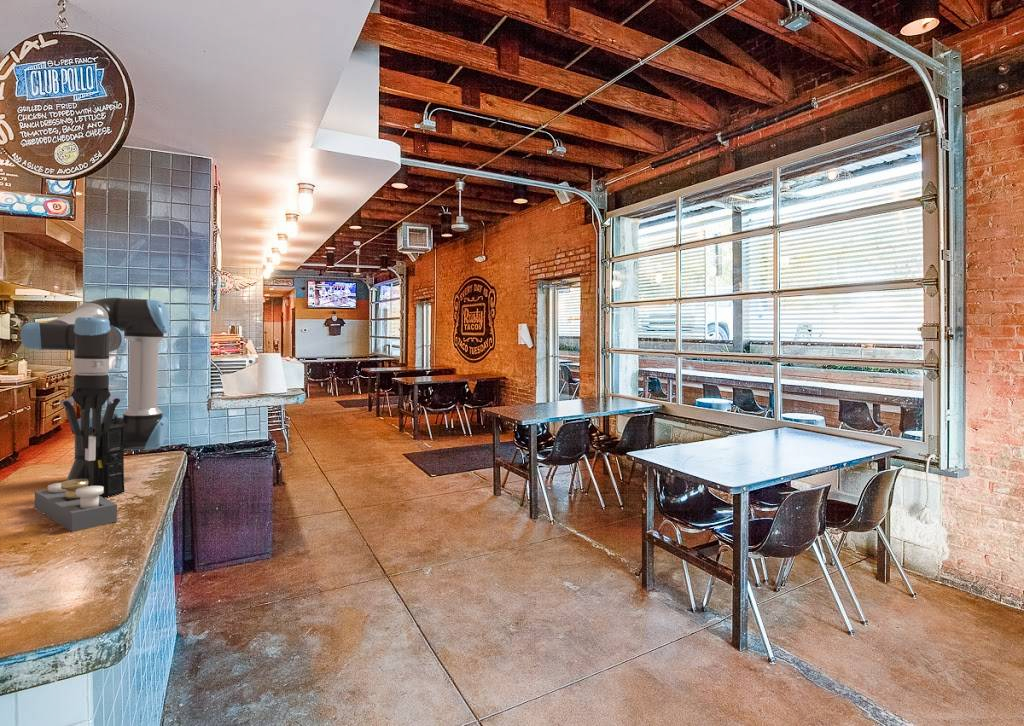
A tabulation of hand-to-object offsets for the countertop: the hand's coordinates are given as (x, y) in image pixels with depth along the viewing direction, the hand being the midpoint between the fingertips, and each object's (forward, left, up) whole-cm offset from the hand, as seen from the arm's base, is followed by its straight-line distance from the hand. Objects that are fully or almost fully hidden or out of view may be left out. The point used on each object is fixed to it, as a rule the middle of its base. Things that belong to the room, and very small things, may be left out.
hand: (90, 459), depth 144 cm
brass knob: (0, -11, -14) cm, 18 cm away
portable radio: (-13, -26, -18) cm, 34 cm away
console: (0, -11, -18) cm, 21 cm away
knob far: (0, 0, -14) cm, 14 cm away
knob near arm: (0, -22, -17) cm, 28 cm away
